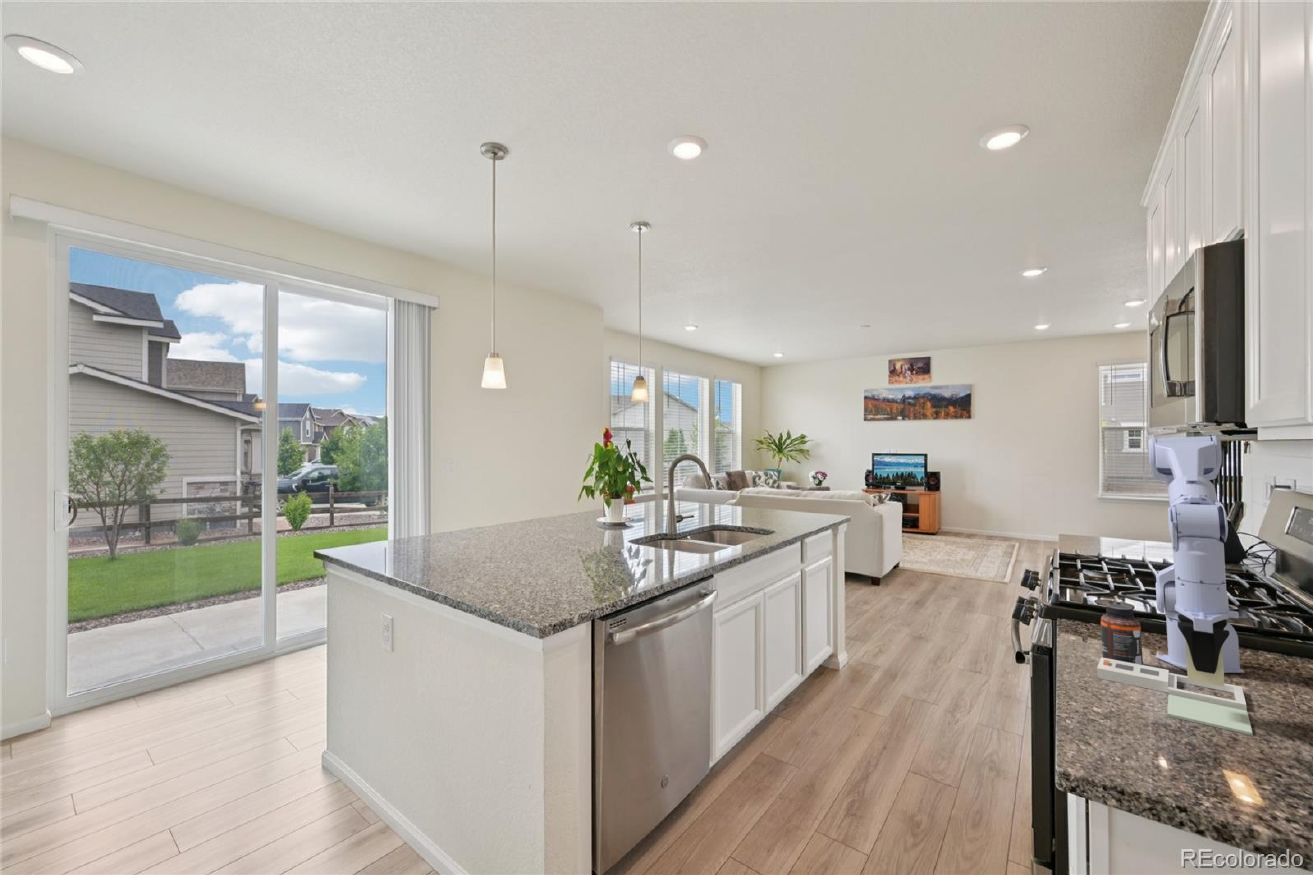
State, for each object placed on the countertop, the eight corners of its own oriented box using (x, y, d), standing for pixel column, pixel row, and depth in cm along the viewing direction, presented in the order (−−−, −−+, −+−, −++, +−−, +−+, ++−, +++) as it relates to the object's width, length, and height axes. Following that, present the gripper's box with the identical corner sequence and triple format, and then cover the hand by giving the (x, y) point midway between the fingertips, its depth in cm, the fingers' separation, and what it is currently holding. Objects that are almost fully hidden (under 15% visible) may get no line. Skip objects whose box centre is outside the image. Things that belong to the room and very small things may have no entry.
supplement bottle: (1151, 672, 101) (1148, 611, 102) (1114, 670, 103) (1111, 610, 103) (1130, 660, 107) (1127, 602, 108) (1095, 658, 108) (1093, 601, 109)
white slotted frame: (1242, 692, 92) (1241, 679, 92) (1246, 711, 86) (1245, 697, 86) (1102, 665, 105) (1101, 653, 105) (1096, 679, 99) (1096, 667, 99)
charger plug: (1223, 678, 85) (1220, 639, 85) (1224, 686, 82) (1222, 646, 83) (1187, 671, 88) (1185, 634, 88) (1187, 679, 85) (1185, 640, 85)
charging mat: (1168, 696, 91) (1168, 694, 91) (1247, 713, 85) (1247, 711, 85) (1167, 715, 85) (1167, 713, 85) (1252, 735, 79) (1252, 732, 79)
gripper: (1240, 593, 78) (1246, 689, 77) (1233, 575, 88) (1238, 660, 88) (1172, 585, 83) (1177, 676, 82) (1173, 570, 93) (1178, 650, 93)
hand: (1204, 667), depth 85 cm, fingers closed on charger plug, 4 cm apart
